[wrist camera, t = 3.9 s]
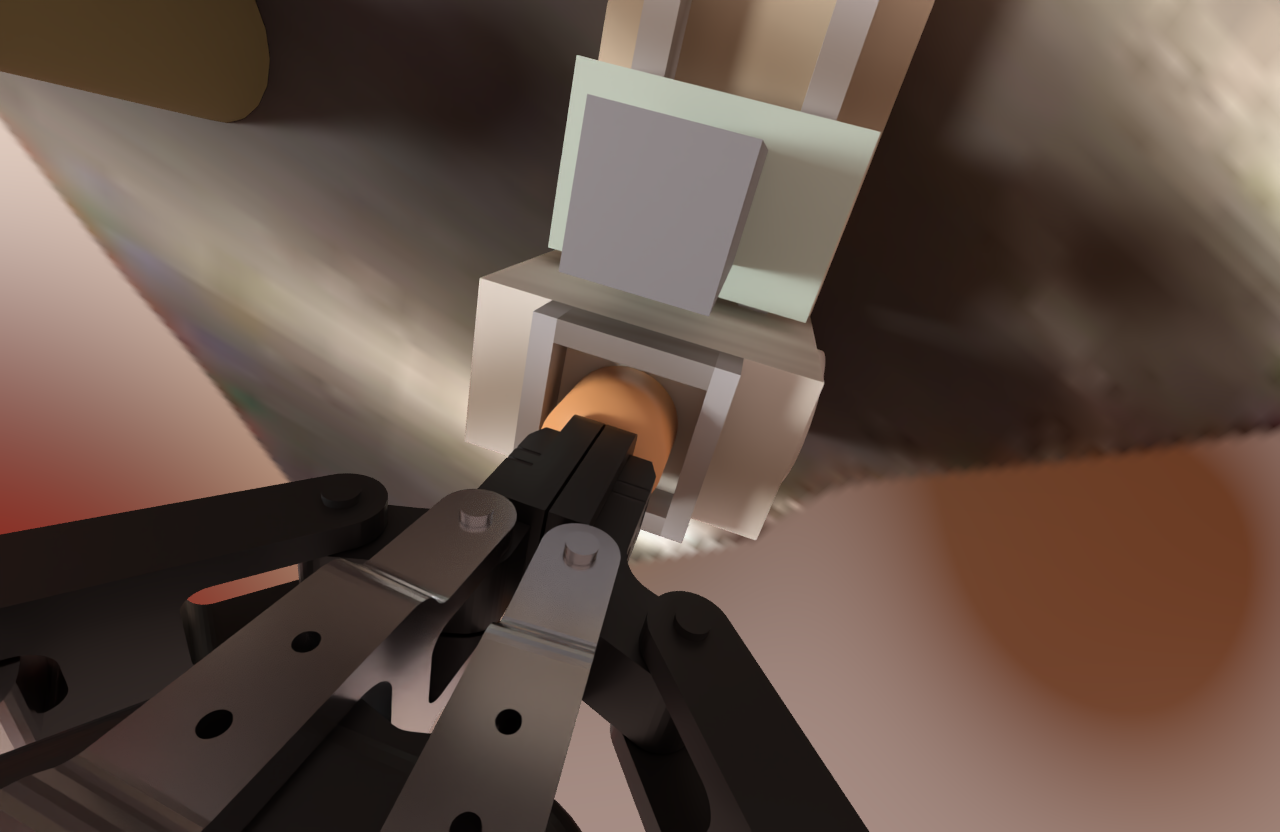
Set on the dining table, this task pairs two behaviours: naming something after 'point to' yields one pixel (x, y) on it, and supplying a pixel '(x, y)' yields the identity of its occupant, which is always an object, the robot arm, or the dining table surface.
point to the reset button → (624, 410)
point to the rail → (733, 333)
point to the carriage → (701, 192)
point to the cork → (143, 51)
